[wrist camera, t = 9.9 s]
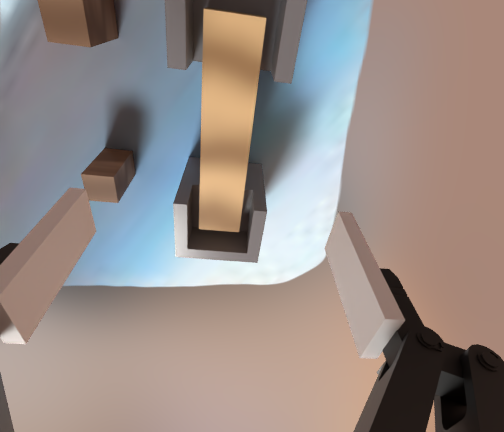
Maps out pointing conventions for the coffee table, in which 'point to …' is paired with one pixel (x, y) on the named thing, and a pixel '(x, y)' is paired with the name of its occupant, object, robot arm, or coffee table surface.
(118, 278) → the coffee table surface
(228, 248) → the end caps
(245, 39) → the slat
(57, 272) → the robot arm
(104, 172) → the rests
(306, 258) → the coffee table surface
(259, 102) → the coffee table surface
